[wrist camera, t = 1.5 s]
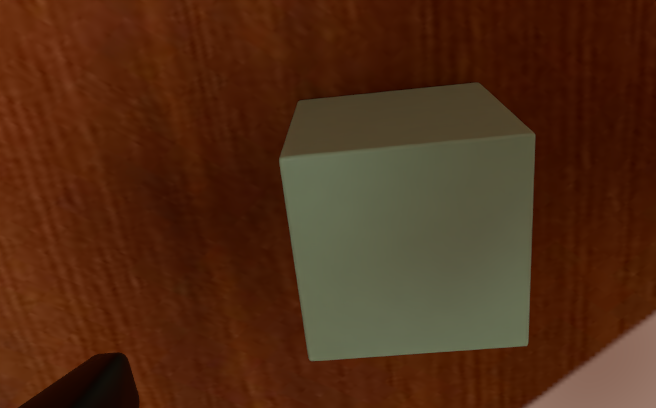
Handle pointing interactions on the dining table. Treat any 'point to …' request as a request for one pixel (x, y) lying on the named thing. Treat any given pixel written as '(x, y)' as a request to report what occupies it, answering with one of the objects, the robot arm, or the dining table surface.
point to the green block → (410, 221)
